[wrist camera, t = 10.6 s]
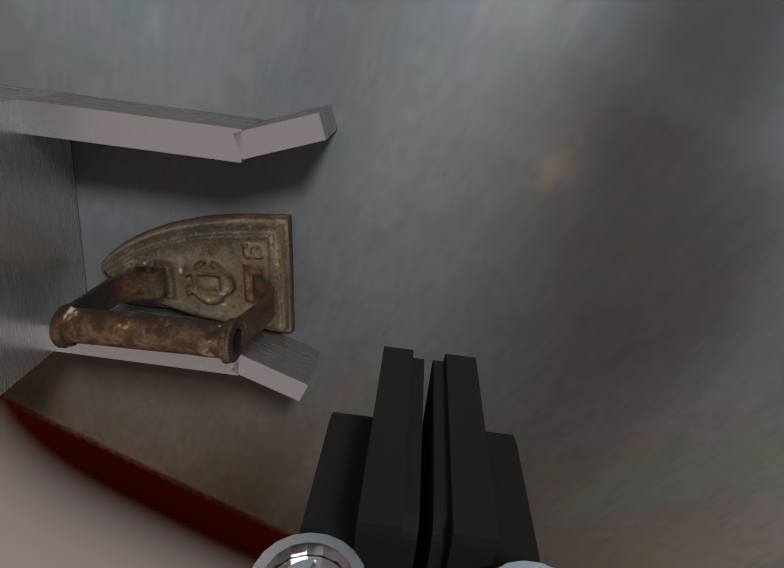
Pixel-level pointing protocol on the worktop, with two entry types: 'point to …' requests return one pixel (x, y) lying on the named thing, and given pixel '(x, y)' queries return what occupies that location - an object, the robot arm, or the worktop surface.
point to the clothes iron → (190, 288)
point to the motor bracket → (62, 229)
